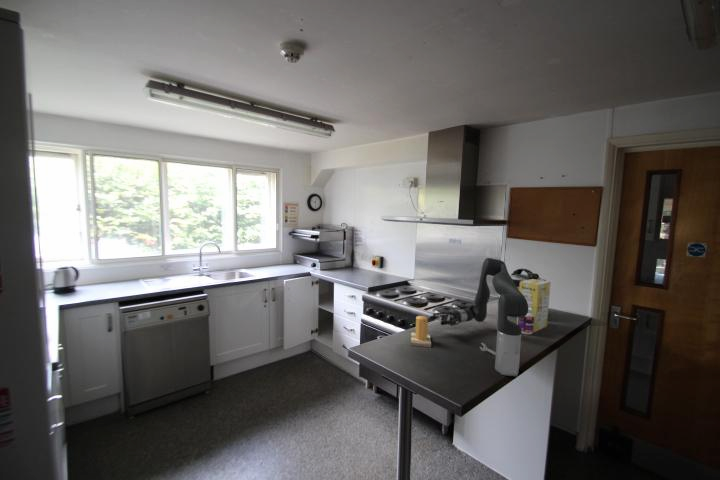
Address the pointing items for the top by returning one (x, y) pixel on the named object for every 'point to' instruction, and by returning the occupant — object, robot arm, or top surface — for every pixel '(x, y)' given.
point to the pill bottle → (527, 322)
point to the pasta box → (537, 300)
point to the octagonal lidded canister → (421, 327)
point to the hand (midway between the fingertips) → (435, 320)
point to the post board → (420, 341)
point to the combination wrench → (487, 349)
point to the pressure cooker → (523, 276)
